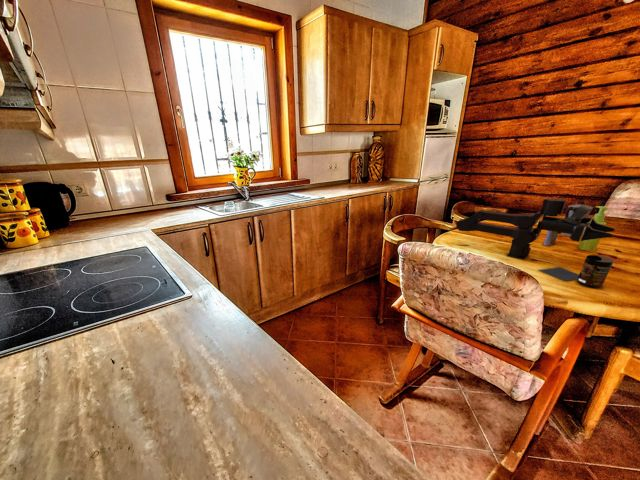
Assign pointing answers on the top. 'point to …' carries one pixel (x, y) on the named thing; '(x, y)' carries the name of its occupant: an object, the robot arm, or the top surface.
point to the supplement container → (594, 271)
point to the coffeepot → (570, 212)
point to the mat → (561, 274)
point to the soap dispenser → (592, 244)
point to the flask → (550, 238)
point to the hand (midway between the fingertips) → (613, 232)
